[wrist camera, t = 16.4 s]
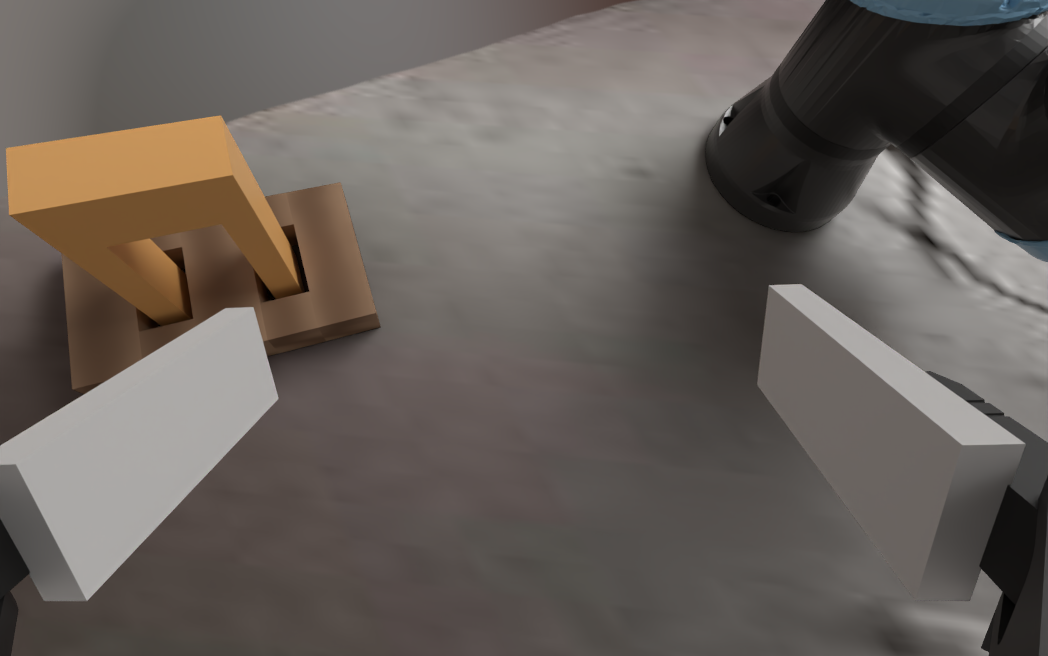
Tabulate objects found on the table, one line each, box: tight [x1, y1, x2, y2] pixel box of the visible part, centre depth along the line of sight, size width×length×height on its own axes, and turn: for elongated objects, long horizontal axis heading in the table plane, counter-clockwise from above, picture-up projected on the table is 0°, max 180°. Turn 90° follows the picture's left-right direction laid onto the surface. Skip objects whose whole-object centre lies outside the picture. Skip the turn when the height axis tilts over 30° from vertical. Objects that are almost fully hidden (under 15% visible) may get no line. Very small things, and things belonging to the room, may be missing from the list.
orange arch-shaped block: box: [6, 116, 305, 326], centre depth 34 cm, size 10×4×16 cm, turn 110°
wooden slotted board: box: [62, 182, 380, 394], centre depth 40 cm, size 20×12×3 cm, turn 110°
